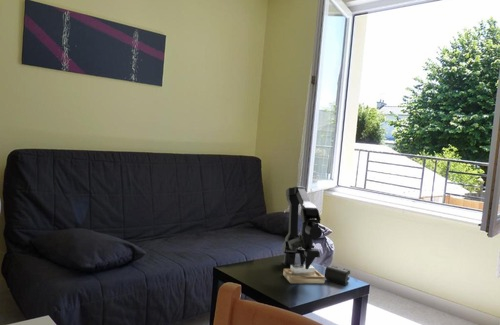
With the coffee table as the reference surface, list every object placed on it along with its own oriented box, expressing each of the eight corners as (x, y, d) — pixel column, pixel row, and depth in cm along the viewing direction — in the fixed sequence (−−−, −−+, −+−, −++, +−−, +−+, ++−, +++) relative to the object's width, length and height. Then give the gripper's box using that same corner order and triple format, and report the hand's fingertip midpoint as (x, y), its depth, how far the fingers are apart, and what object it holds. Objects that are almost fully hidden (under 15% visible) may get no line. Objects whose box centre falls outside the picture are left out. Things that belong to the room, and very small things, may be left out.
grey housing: (309, 273, 184) (310, 264, 184) (314, 276, 179) (315, 268, 179) (289, 273, 181) (290, 264, 181) (293, 276, 176) (294, 268, 176)
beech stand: (283, 274, 184) (283, 268, 184) (314, 275, 188) (315, 268, 188) (290, 283, 173) (291, 276, 173) (324, 283, 177) (324, 276, 177)
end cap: (323, 281, 180) (325, 267, 180) (329, 277, 186) (330, 263, 186) (344, 287, 175) (346, 272, 174) (349, 283, 180) (351, 269, 180)
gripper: (284, 228, 187) (281, 260, 187) (298, 238, 169) (294, 273, 169) (306, 229, 189) (303, 260, 190) (322, 238, 171) (318, 273, 172)
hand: (304, 267), depth 180 cm, fingers open, 5 cm apart
